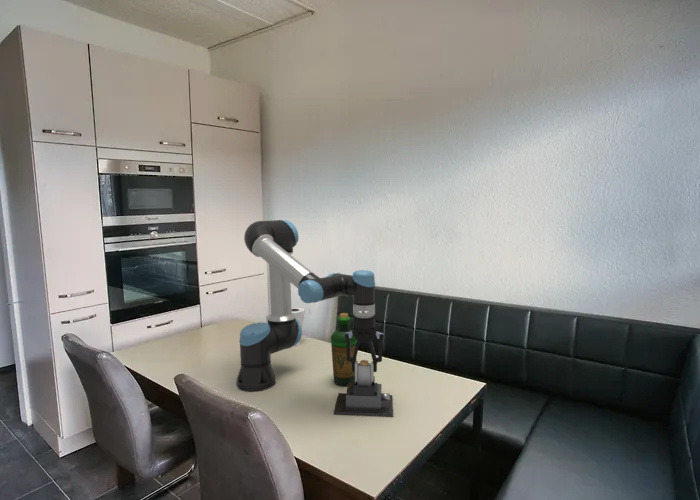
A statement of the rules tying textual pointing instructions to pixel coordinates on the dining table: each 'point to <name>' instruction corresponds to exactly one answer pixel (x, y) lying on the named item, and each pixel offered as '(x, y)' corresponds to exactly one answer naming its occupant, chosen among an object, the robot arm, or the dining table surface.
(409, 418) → the dining table surface
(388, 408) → the stepped square mount
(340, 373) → the bottle
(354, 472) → the dining table surface
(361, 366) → the grey cylinder with ball
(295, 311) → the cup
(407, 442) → the dining table surface
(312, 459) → the dining table surface
